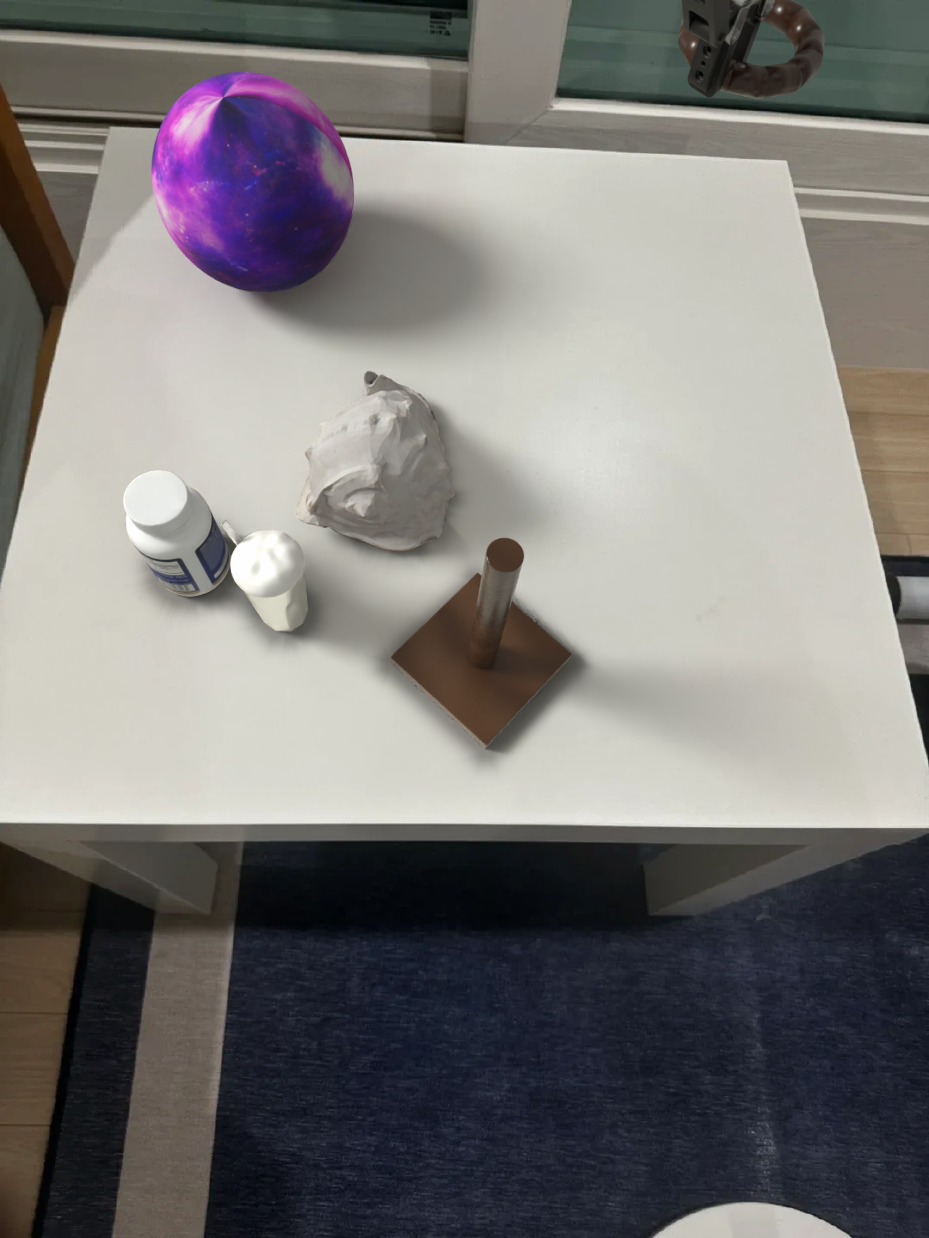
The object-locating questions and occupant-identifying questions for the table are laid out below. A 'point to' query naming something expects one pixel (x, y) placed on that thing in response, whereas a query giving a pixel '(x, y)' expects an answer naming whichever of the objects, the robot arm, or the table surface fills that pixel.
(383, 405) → the seashell
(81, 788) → the table surface
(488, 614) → the stand
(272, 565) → the milkshake
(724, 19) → the robot arm
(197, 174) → the decorative orb
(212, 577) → the pill bottle
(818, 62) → the ring
